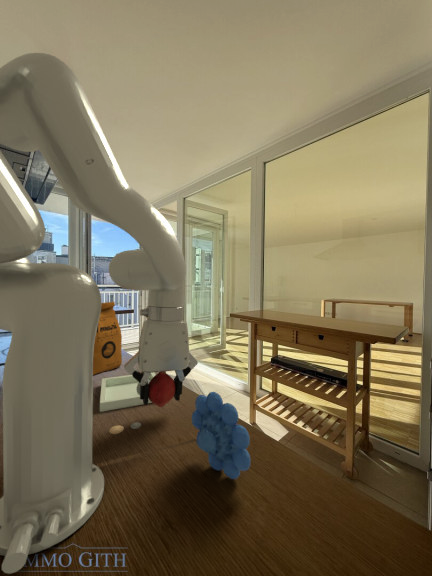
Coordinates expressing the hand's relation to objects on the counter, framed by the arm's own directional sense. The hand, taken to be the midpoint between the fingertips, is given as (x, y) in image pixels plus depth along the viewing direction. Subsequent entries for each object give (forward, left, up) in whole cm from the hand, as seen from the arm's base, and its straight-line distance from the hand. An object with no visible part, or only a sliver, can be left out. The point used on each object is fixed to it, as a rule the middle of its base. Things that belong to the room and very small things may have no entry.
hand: (161, 399), depth 52 cm
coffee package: (+35, +13, -5) cm, 38 cm away
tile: (-1, +7, -5) cm, 8 cm away
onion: (0, 0, -2) cm, 2 cm away
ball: (+11, +2, -4) cm, 12 cm away
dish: (+14, +5, -5) cm, 15 cm away
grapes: (-17, -5, -5) cm, 18 cm away
